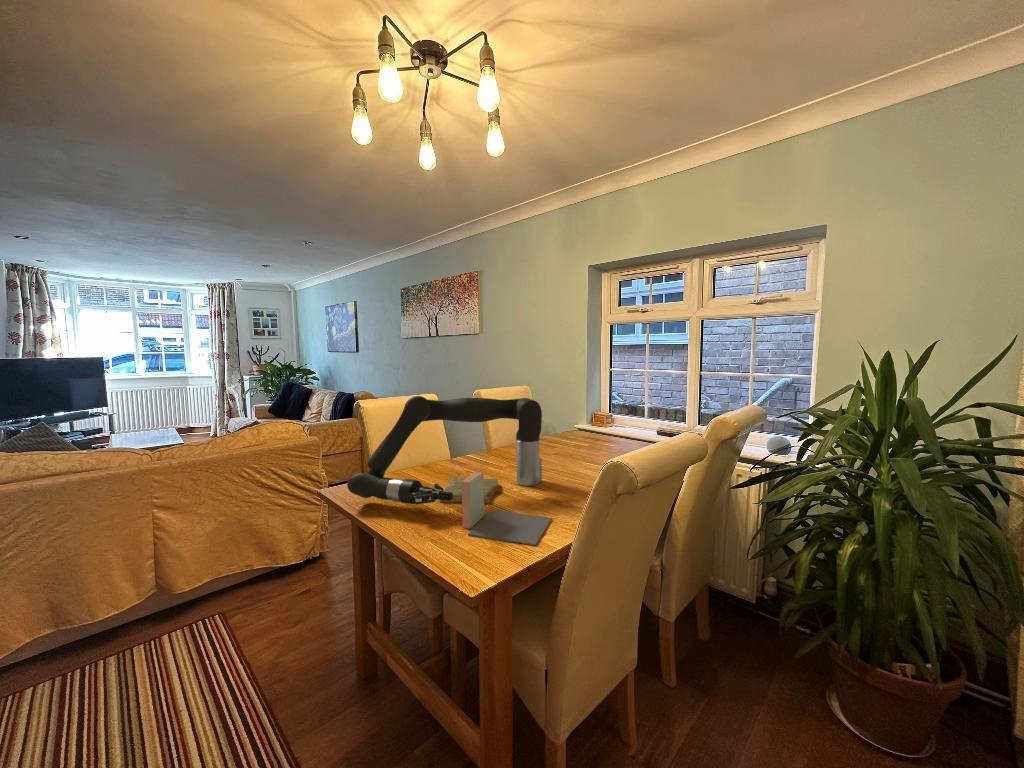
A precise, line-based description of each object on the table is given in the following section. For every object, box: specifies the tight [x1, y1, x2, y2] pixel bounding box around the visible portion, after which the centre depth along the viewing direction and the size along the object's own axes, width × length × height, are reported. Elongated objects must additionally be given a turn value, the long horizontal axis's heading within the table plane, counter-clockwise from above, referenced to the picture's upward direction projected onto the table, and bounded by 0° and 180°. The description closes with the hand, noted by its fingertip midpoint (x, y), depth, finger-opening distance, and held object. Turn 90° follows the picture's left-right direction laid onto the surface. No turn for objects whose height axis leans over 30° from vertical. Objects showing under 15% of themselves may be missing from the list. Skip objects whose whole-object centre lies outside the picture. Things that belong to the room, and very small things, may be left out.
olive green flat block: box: [439, 477, 500, 504], centre depth 148 cm, size 19×20×4 cm
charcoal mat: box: [467, 509, 553, 547], centre depth 119 cm, size 20×18×1 cm
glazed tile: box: [461, 471, 485, 530], centre depth 123 cm, size 3×10×14 cm, turn 160°
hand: (451, 496), depth 125 cm, fingers closed
